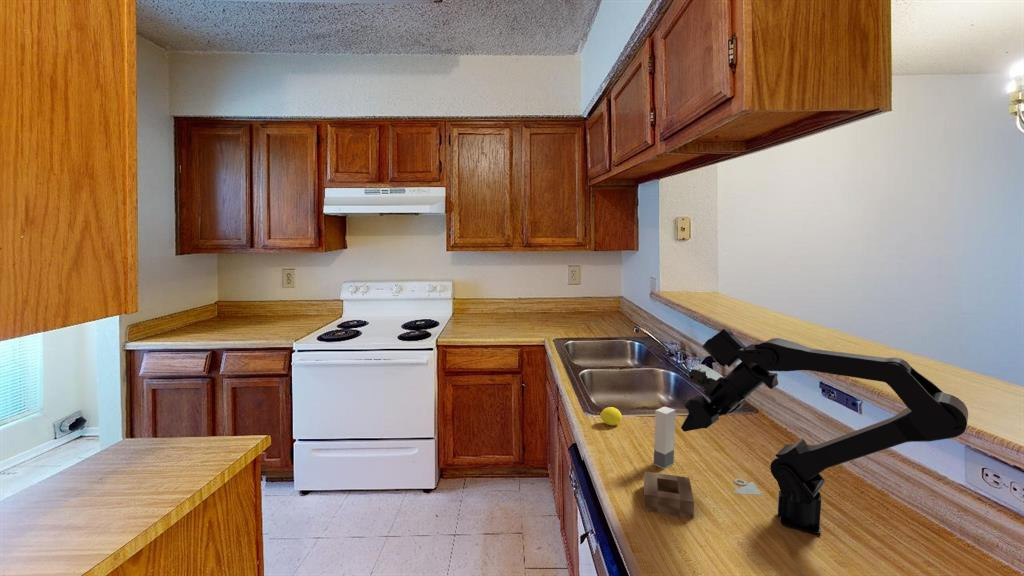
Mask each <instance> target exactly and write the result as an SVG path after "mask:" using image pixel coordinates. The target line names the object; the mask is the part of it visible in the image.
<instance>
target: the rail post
mask: <svg viewBox="0 0 1024 576" xmlns="http://www.w3.org/2000/svg"><path fill="white" fill-rule="evenodd" d="M654 411H655V413H654V414H655V415H654V418H655V419H654V421H655V422H654V444H653V445H654V446H653V447H654V449H653V450H654V451H653V465H654V466H657V467H658V468H661V469H663V470H666V469H667V468H669V467H670V466H673V465H674V461H675V460H674V459H675V458H674V457H675V433H676V432H675V430H676V409H673V408H671V407H667V406H662V407H660V408H658V409H655V410H654Z"/></svg>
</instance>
